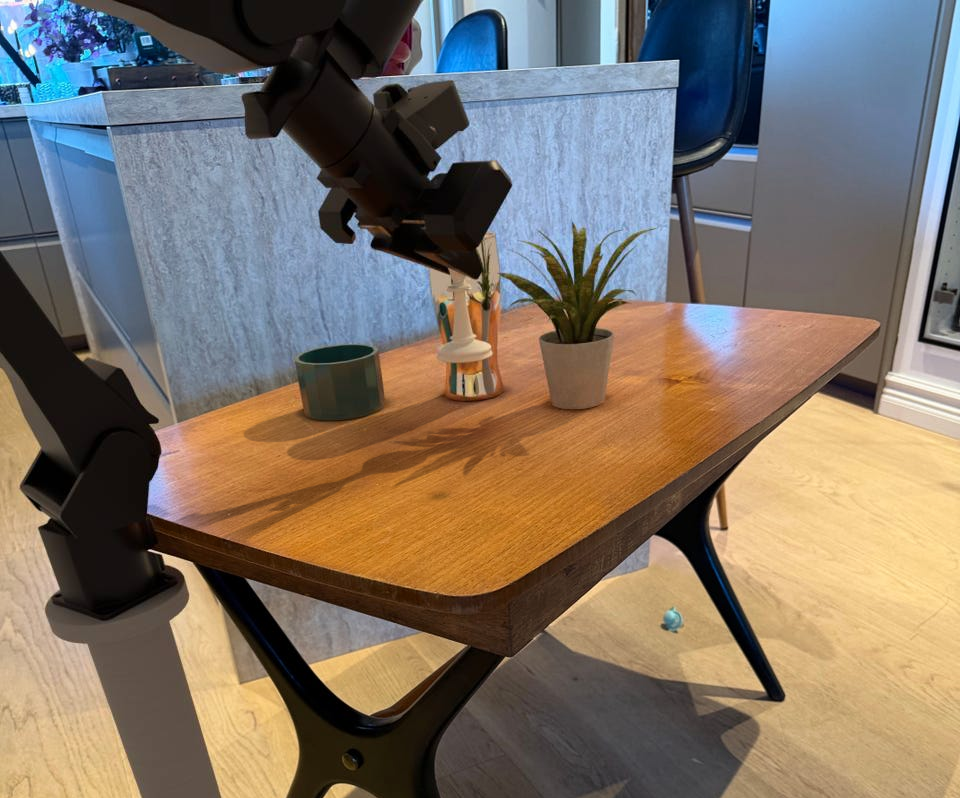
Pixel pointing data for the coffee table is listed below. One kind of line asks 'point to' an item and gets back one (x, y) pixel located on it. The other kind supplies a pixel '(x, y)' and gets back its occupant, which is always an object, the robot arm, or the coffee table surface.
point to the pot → (340, 381)
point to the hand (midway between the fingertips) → (470, 273)
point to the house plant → (575, 322)
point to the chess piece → (462, 329)
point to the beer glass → (472, 325)
